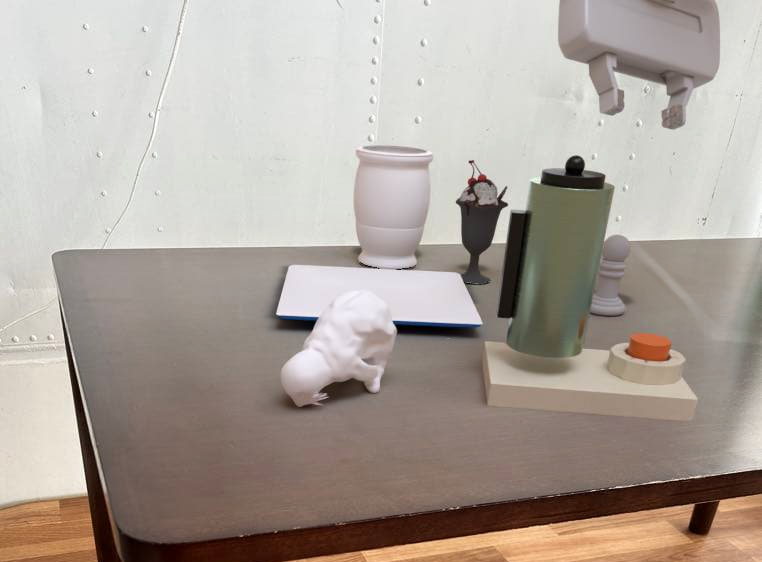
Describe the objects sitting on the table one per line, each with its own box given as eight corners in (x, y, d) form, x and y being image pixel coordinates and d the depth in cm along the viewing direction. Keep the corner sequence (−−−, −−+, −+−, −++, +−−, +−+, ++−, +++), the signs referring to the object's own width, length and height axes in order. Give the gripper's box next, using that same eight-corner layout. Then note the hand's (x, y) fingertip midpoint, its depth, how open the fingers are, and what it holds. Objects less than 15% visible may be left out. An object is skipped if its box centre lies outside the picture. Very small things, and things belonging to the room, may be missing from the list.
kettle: (573, 329, 81) (607, 150, 72) (587, 361, 72) (627, 163, 64) (490, 323, 81) (514, 144, 73) (495, 354, 73) (523, 156, 64)
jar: (434, 262, 120) (444, 150, 112) (408, 276, 112) (417, 156, 104) (368, 252, 124) (374, 142, 116) (338, 265, 115) (342, 148, 108)
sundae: (437, 277, 112) (449, 158, 104) (470, 271, 116) (484, 156, 108) (472, 288, 108) (487, 165, 100) (506, 282, 112) (523, 162, 104)
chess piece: (593, 302, 105) (607, 228, 100) (632, 311, 102) (648, 236, 97) (573, 309, 101) (587, 234, 97) (613, 319, 99) (629, 242, 94)
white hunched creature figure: (404, 291, 71) (312, 333, 64) (402, 382, 76) (317, 430, 69) (348, 277, 74) (255, 315, 67) (350, 365, 79) (263, 409, 72)
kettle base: (660, 375, 82) (670, 336, 80) (691, 422, 72) (704, 379, 70) (481, 362, 83) (487, 323, 81) (487, 406, 73) (493, 363, 71)
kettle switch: (662, 353, 77) (666, 334, 76) (671, 365, 74) (676, 346, 73) (623, 350, 77) (627, 331, 76) (630, 362, 74) (635, 343, 73)
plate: (481, 341, 89) (483, 322, 88) (275, 331, 88) (275, 312, 87) (458, 287, 108) (460, 271, 107) (289, 279, 107) (289, 263, 106)
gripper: (592, -81, 70) (598, 89, 72) (731, -23, 81) (733, 123, 83) (538, -42, 75) (545, 115, 77) (675, 7, 86) (679, 144, 88)
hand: (643, 120), depth 80 cm, fingers open, 8 cm apart
